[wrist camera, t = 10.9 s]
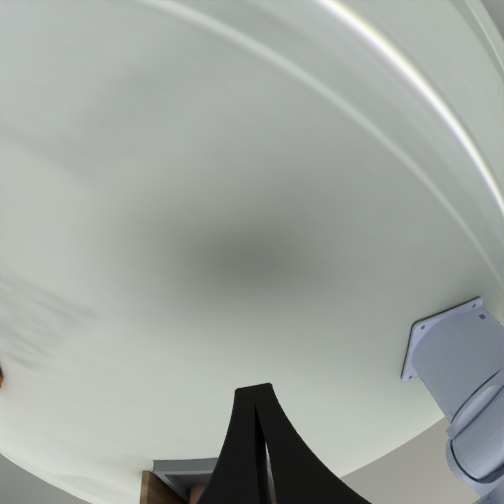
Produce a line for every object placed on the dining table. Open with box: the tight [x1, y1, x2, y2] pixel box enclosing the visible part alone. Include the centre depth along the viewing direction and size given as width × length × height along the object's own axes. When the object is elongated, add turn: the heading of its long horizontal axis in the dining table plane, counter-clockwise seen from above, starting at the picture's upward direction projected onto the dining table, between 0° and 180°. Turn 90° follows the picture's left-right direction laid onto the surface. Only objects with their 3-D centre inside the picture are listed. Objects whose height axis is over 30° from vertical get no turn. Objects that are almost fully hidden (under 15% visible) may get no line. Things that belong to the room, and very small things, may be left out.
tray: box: [153, 458, 276, 504], centre depth 32 cm, size 14×18×2 cm
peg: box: [189, 484, 207, 504], centre depth 31 cm, size 4×4×4 cm
